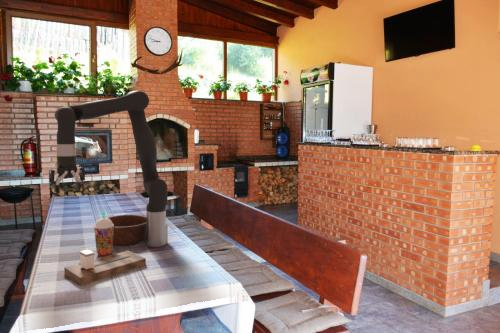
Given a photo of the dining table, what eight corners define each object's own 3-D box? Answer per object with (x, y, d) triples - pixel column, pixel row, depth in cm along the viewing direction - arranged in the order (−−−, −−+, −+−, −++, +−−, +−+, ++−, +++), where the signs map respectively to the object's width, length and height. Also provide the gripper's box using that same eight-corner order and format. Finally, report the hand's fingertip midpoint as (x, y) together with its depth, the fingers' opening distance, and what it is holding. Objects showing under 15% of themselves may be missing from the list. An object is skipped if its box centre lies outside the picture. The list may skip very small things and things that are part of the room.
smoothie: (93, 258, 172) (92, 214, 169) (95, 252, 180) (94, 209, 177) (113, 257, 174) (112, 213, 171) (115, 250, 182) (114, 209, 179)
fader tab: (88, 263, 156) (88, 249, 156) (94, 267, 153) (94, 252, 152) (80, 265, 154) (79, 251, 153) (86, 269, 150) (85, 254, 150)
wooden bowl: (136, 250, 184) (135, 228, 183) (88, 245, 189) (88, 225, 188) (158, 234, 208) (158, 216, 207) (116, 231, 213) (115, 212, 212)
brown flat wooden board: (128, 256, 175) (128, 249, 174) (145, 265, 165) (145, 257, 165) (64, 274, 154) (64, 266, 154) (80, 285, 145) (80, 276, 144)
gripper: (79, 153, 172) (80, 188, 174) (45, 154, 162) (46, 193, 164) (87, 154, 168) (88, 191, 170) (52, 156, 157) (54, 195, 159)
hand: (67, 192), depth 167 cm, fingers open, 8 cm apart
